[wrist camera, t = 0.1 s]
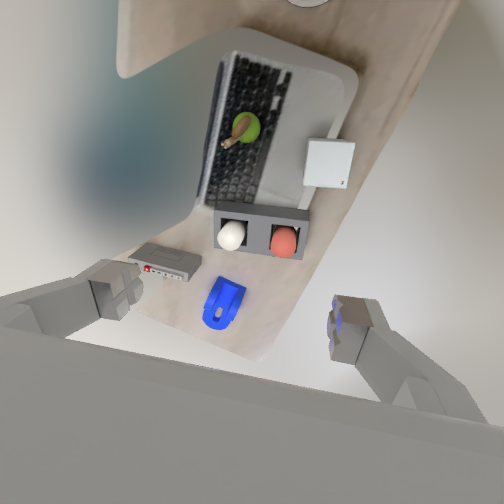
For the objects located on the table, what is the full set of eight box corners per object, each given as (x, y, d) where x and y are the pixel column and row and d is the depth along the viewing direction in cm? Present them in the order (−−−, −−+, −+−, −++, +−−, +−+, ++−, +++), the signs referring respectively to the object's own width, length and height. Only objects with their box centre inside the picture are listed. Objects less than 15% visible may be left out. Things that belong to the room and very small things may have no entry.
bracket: (219, 275, 69) (208, 294, 61) (246, 287, 70) (239, 308, 62) (201, 318, 78) (190, 339, 70) (225, 328, 78) (217, 351, 70)
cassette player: (148, 250, 70) (125, 268, 61) (147, 242, 68) (125, 259, 60) (200, 264, 69) (186, 284, 60) (201, 256, 67) (186, 275, 59)
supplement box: (345, 138, 49) (358, 142, 38) (337, 177, 52) (347, 191, 41) (307, 136, 50) (309, 139, 39) (302, 174, 53) (302, 186, 42)
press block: (223, 200, 59) (213, 210, 52) (308, 210, 56) (309, 221, 50) (223, 235, 63) (214, 247, 57) (302, 245, 61) (302, 260, 54)
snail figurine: (228, 134, 52) (210, 136, 42) (246, 106, 49) (231, 101, 39) (248, 151, 53) (235, 158, 43) (267, 125, 50) (258, 124, 40)
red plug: (274, 222, 54) (271, 233, 48) (298, 225, 53) (297, 237, 48) (272, 242, 56) (269, 256, 50) (294, 245, 56) (293, 259, 50)
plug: (225, 216, 55) (217, 226, 50) (247, 218, 55) (241, 229, 49) (225, 236, 58) (217, 248, 52) (246, 239, 57) (240, 252, 51)
